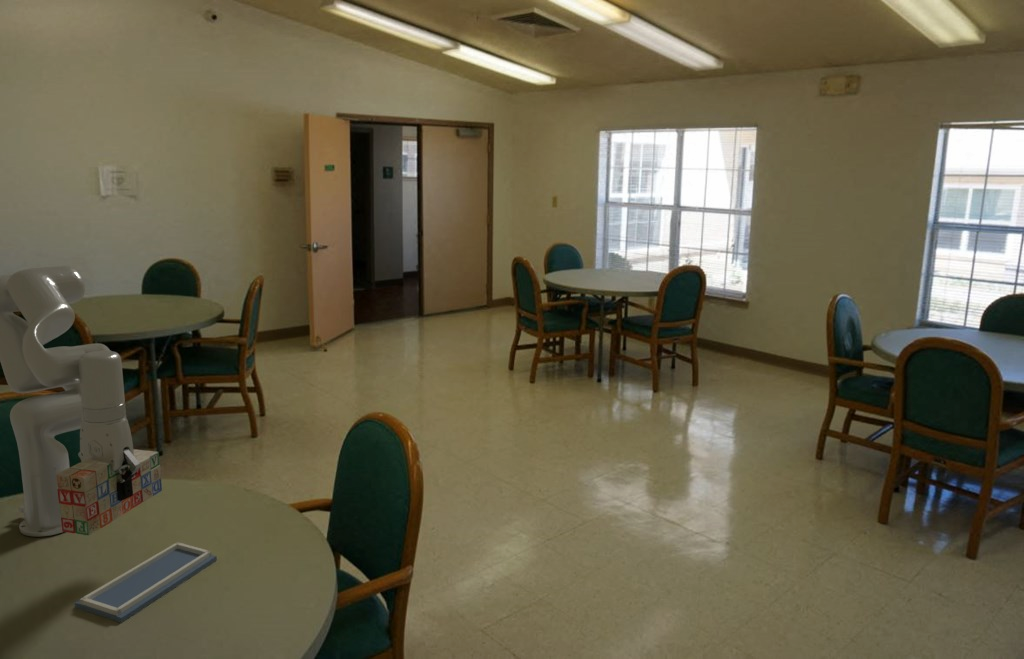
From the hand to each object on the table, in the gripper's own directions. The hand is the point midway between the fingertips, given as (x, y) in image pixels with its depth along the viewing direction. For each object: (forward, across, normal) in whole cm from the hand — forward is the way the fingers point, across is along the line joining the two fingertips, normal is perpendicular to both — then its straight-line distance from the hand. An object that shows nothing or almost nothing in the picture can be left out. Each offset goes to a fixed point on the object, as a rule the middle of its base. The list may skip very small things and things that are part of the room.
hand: (112, 494), depth 153 cm
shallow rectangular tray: (+18, +8, 0) cm, 20 cm away
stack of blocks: (+4, 0, 0) cm, 4 cm away
